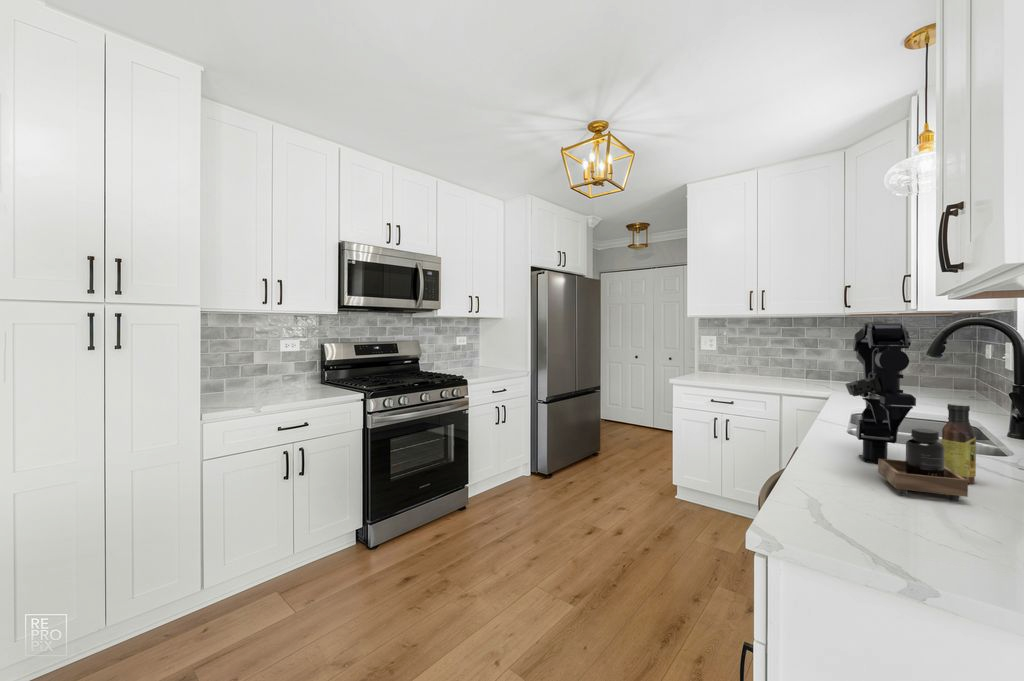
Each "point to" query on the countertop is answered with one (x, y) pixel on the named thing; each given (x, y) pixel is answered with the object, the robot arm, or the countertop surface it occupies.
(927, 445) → the supplement bottle
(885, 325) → the robot arm
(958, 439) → the sauce bottle
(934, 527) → the countertop surface
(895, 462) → the square wooden tray
